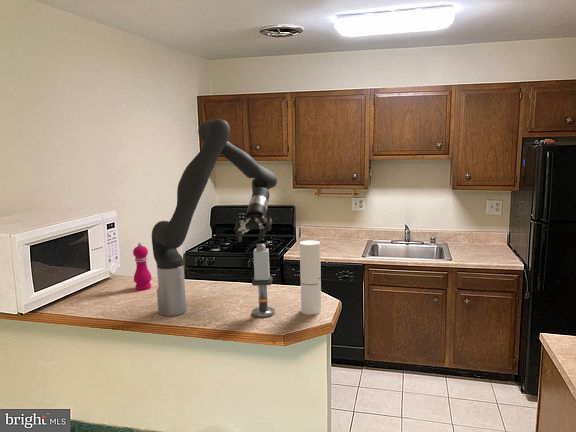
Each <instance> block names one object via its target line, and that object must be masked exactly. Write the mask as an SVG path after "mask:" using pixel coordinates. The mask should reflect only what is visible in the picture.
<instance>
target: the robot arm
mask: <svg viewBox="0 0 576 432" xmlns="http://www.w3.org/2000/svg"><path fill="white" fill-rule="evenodd" d="M197 133H198V137H199V139H200V140H201V142H203V143H204V144H203V146H202V148H201V149H200V151H199V152H198V153H197V154H196V155H195V157H194V158H192V160H191V161H190V162H189V163H188V165H187V166H185V169H184V170H183V173H182V175H181V177H180V180H179V181H178V184H177V191H176V194H177V195H176V205H175V206H176V207H175V210H174V212H173V213H172V216H171V218H170V220H169V221H167V220H160V221H159V222H156V223H155V224H154V226H153V227H152V230H151V244H152V254H153V258H154V261H155V263H156V273H157V275H156V276H157V283H158V287H157V288H156V293H157V294H156V295H157V309H158V315H159V316H164V317H172V316H173V317H174V316H180V315H182V314H185V313H186V312H187V301H186V300H187V299H186V298H187V297H186V286H185V285H186V284H185V268H184V258H183V255H181V254H180V253H179V251H178V249H179V247H181V246H182V245H183V243H185V240H186V238H187V235H188V233H189V230H190V225H191V222H192V219H193V216H194V214H195V212H196V209H197V206H198V204H199V201H200V199H201V197H202V195H203V193H204V191H205V189H206V186H207V185H208V181H209V179H210V177H211V174H212V172H213V169H214V168H215V165H216V163H217V160H218V159H219V158H220V157H219V156H220V155H221V156H223V158H225V159H226V160H228V161H229V162H230V163H231V164H232V165H234V167H236V168H237V169H238V170H239V171H240V172H241V173H243V175H244V176H245V177H247V178H248V179H252V180H251V189H252V191H251V198H250V200H249V203H248V206H247V210H246V213H245V218H244V219H243V220H241V219H240V218H238V219H237V220H236V222H235V223H234V227H233V232H234V233H235V235H236V237H235V238H236V240H237V241H238V243H241V242H242V239H243V235H244V234H245V233H248V232H249V231H251V230H258V229H259V233H258V238H259V240H260V241H262V240H263V239H264V238H265V235H266V233H267V232H271V230H272V224H273V220H272V218H271V215H267V211H268V204H269V201H270V195H271V194H270V191H269V190H270V189H273V188H274V187H276V186H277V184H278V178H277V176H276V174H274V172H273V171H272V170H269V169H268V168H266V167H264V166H262V165H261V164H259V163H258V162H257V160H255V159H254V158H253V157H252V156H251V155H250V154H249V153H247V152H245V151H244V150H242V149H240V148H239V147H237V146H235V145H234V144H232V143H231V142H230V141H229V139H230V136H231V135H230V134H231V127H230V124H229V123H228V122H227V121H226V120H225V119H221V118H218V119H217V118H216V119H211V120H210V119H209V120H205V121H203V122H201V123H200V124H199V126H198V130H197ZM266 216H267V217H266ZM265 223H266V224H265ZM264 224H265V226H264Z"/></svg>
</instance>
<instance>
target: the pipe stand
mask: <svg viewBox="0 0 576 432" xmlns="http://www.w3.org/2000/svg"><path fill="white" fill-rule="evenodd" d="M265 248H266V244H265V243H257V244H256V249H257V251H266V250H265ZM258 281H267V280H258ZM257 287H258V288H257V290H258V291H257V292H258V307H255V308H253V309H252V311H251V314H252V316H253V317H256V318H262V319H263V318H264V319H265V318H270V317H272V316H274V315H275V313H276V311H275V308H274V307H271V306H269V305H268V301H269V300H268V285H259V286H257Z"/></svg>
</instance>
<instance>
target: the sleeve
mask: <svg viewBox="0 0 576 432" xmlns="http://www.w3.org/2000/svg"><path fill="white" fill-rule="evenodd" d="M265 250H266V251H257V248H254V250H253V270H254V271H253V273H254V276H253V277H255V280H269V277H270V276H271V274H270V252H269V248H266V247H265Z"/></svg>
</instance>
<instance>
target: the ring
mask: <svg viewBox="0 0 576 432" xmlns="http://www.w3.org/2000/svg"><path fill="white" fill-rule="evenodd" d="M273 279H274V278H273V276H272V275H270V277H269V280H267V281H258V280H255V277H254V276H253V277H252V281H251V285H252V286H253V287H254V286H255V287H256V286H257V287H258V286H259V285H267V286H271V285H272V284H273Z"/></svg>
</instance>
